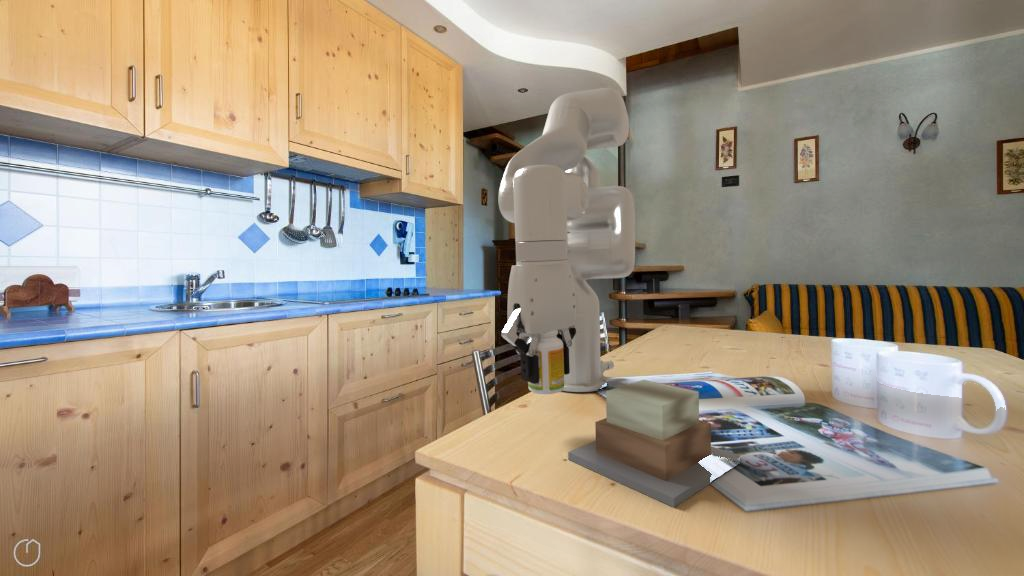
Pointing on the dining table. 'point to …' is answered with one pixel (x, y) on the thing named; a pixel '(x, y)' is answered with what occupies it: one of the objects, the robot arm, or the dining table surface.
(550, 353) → the supplement bottle
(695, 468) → the baseplate
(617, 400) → the two-tone block stack
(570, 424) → the dining table surface
